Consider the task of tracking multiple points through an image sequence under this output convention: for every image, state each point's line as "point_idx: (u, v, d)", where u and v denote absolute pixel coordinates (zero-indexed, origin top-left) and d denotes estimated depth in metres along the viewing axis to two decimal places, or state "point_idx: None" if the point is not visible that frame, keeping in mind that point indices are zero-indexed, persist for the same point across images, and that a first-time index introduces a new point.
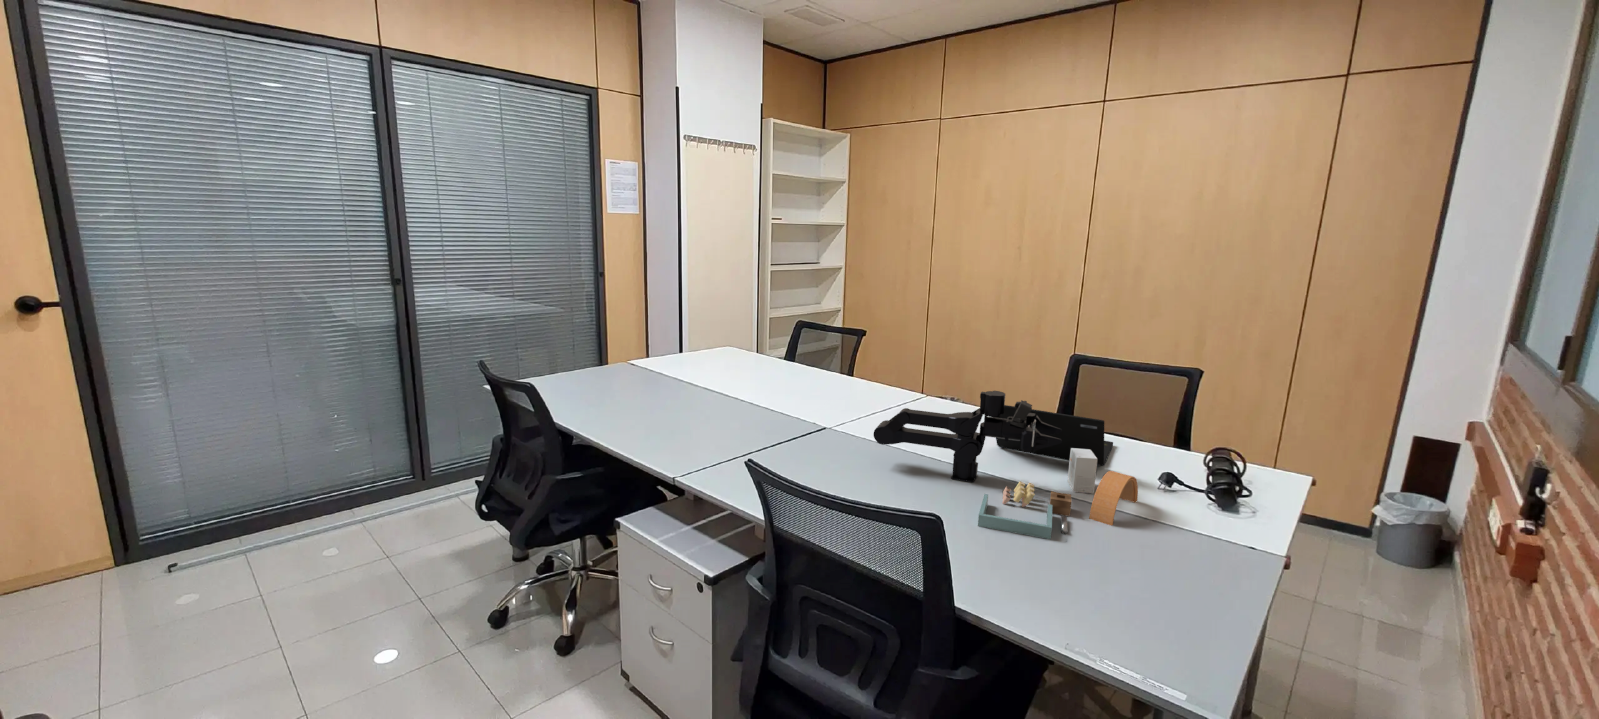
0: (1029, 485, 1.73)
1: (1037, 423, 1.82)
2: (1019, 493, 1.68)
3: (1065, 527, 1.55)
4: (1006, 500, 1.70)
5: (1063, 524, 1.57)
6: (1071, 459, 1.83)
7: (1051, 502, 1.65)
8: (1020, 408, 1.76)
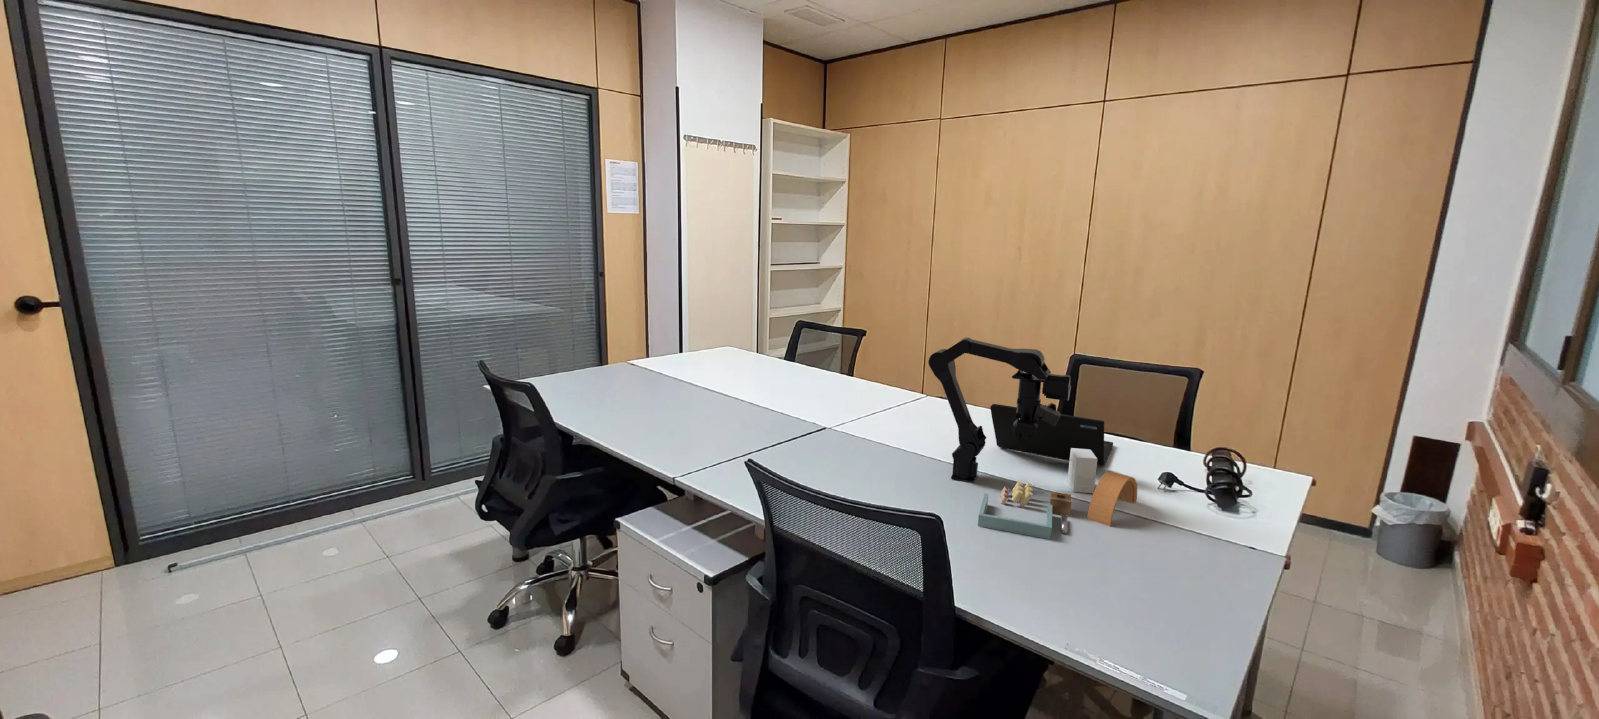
0: (1027, 485, 1.73)
1: None
2: (1017, 493, 1.69)
3: (1065, 527, 1.55)
4: (1005, 500, 1.70)
5: (1063, 524, 1.57)
6: (1071, 459, 1.83)
7: (1051, 502, 1.65)
8: (1055, 416, 1.71)
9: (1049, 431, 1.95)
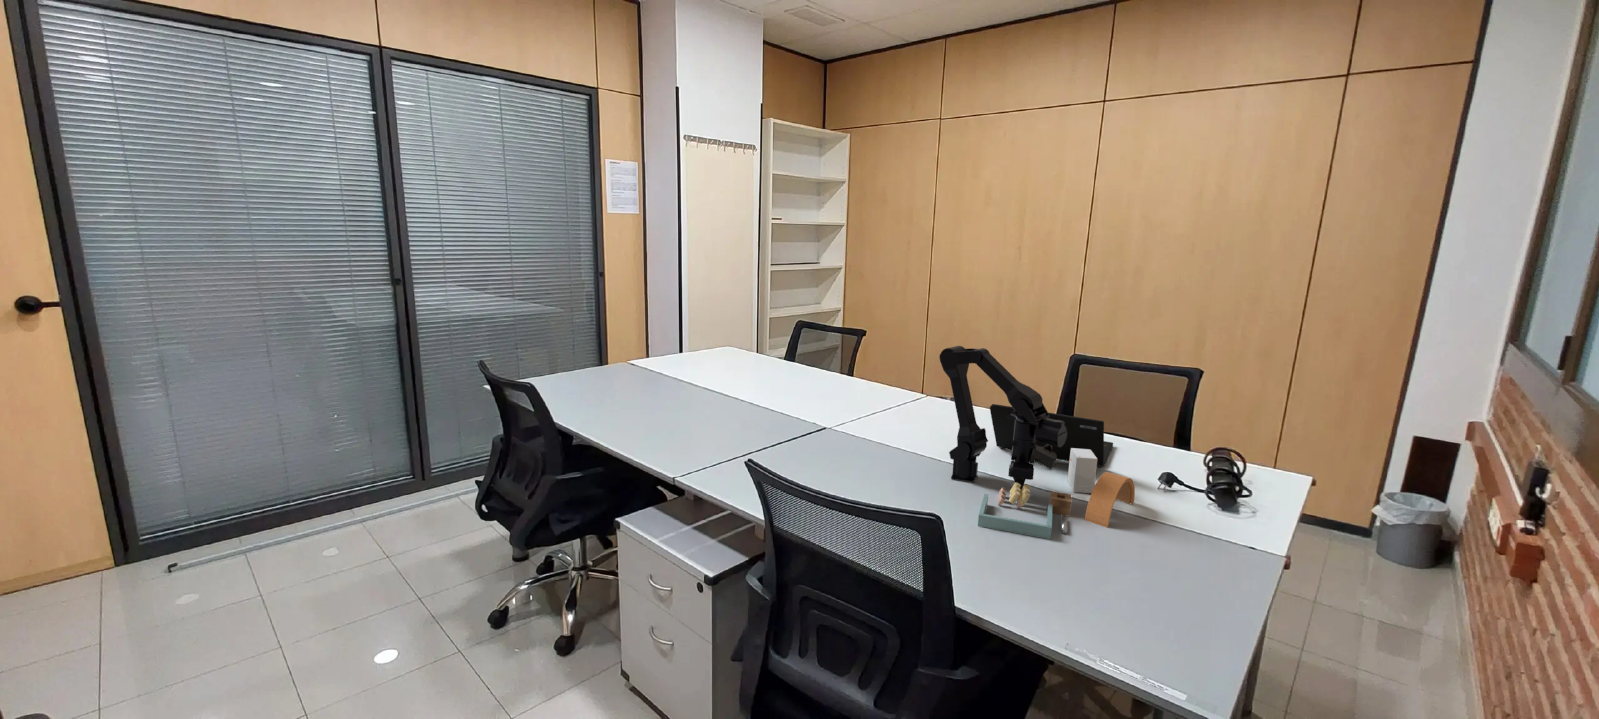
0: (1025, 486, 1.72)
1: None
2: (1014, 494, 1.67)
3: (1065, 527, 1.55)
4: (1002, 501, 1.69)
5: (1063, 524, 1.57)
6: (1071, 459, 1.83)
7: (1051, 502, 1.65)
8: (1051, 459, 1.69)
9: None
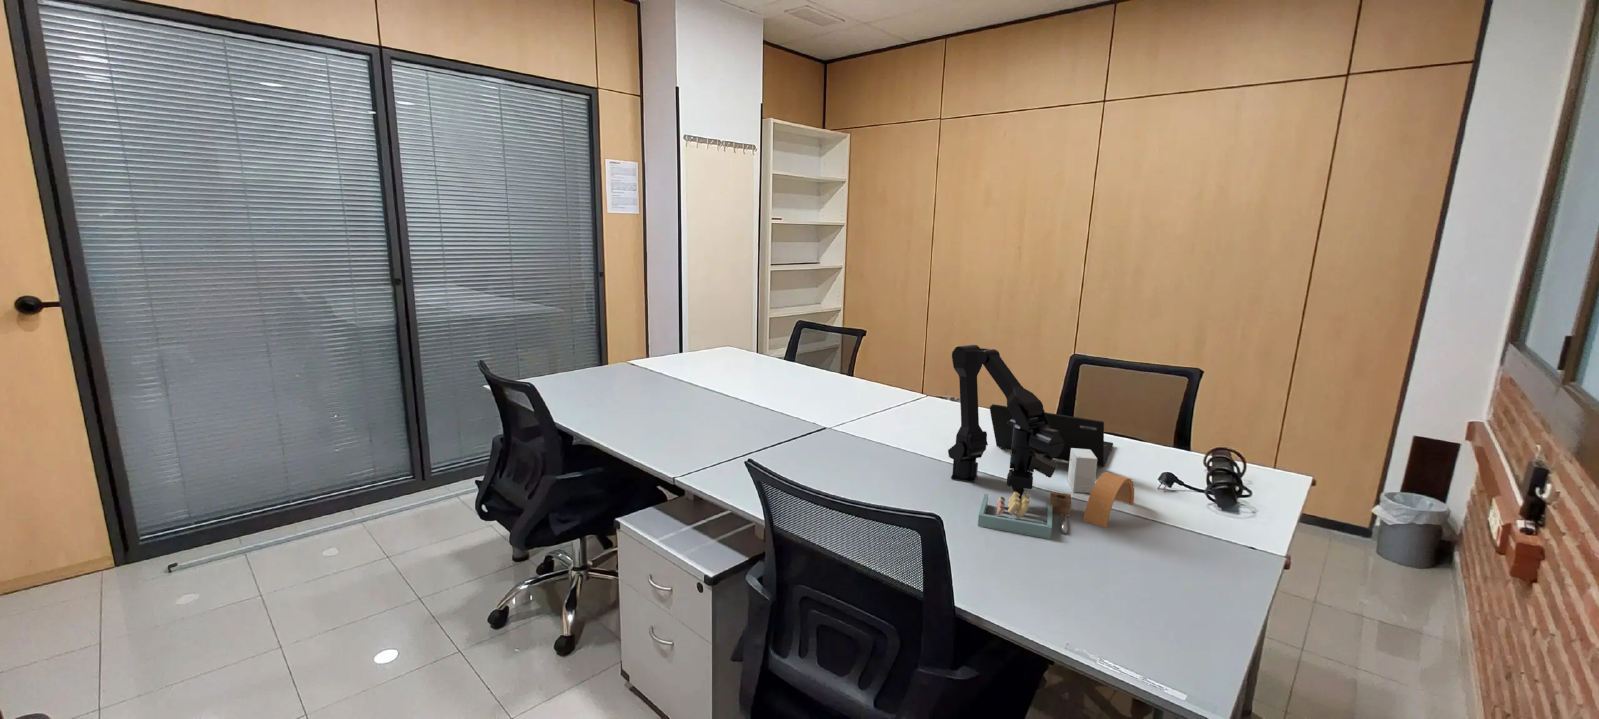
0: (1024, 496, 1.66)
1: None
2: (1014, 504, 1.61)
3: (1065, 527, 1.55)
4: (1001, 511, 1.63)
5: (1063, 524, 1.57)
6: (1071, 459, 1.83)
7: (1051, 502, 1.65)
8: (1051, 467, 1.63)
9: None
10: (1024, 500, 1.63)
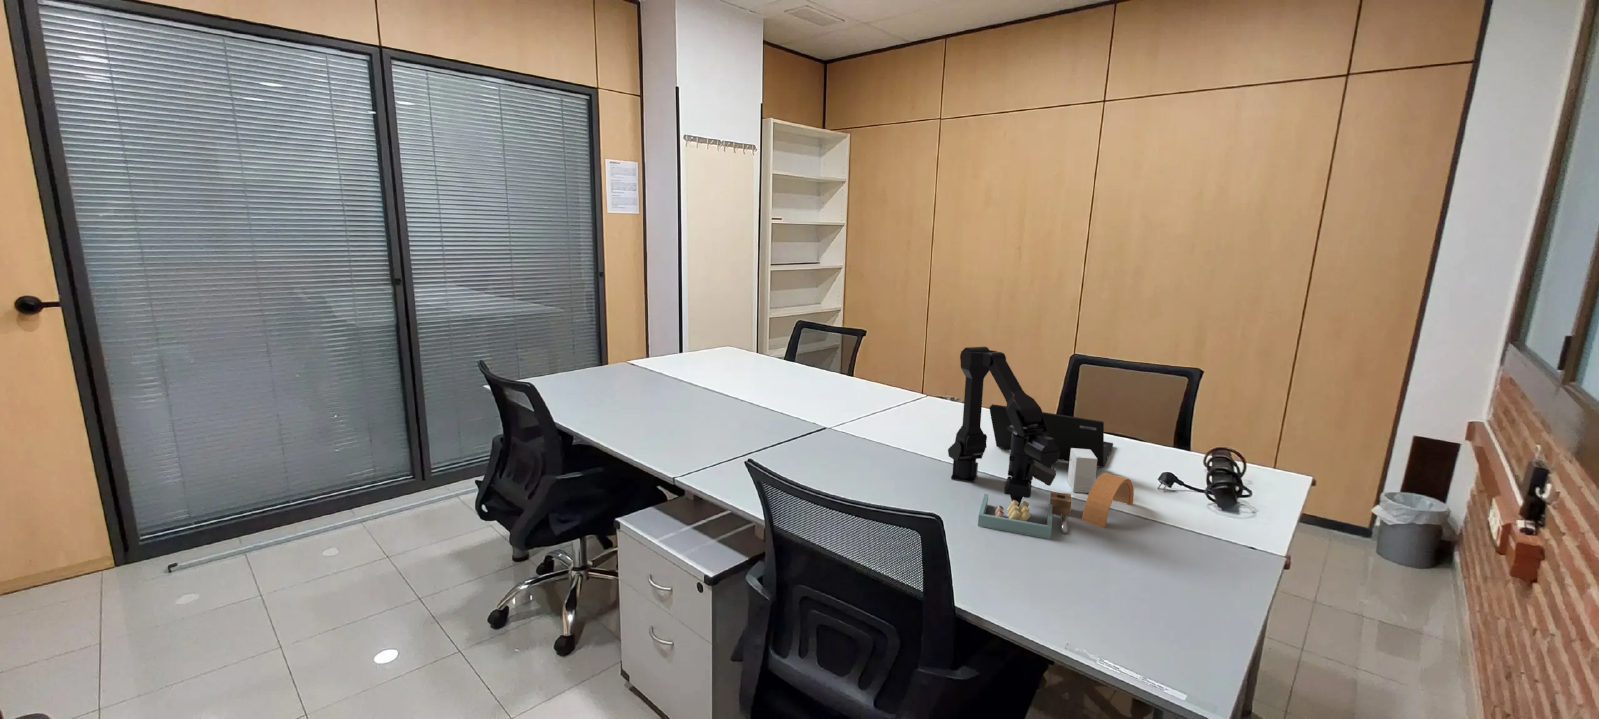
0: (1023, 504, 1.61)
1: None
2: (1014, 513, 1.56)
3: (1065, 527, 1.55)
4: None
5: (1063, 524, 1.57)
6: (1071, 459, 1.83)
7: (1051, 502, 1.65)
8: (1050, 475, 1.58)
9: None
10: (1024, 509, 1.58)
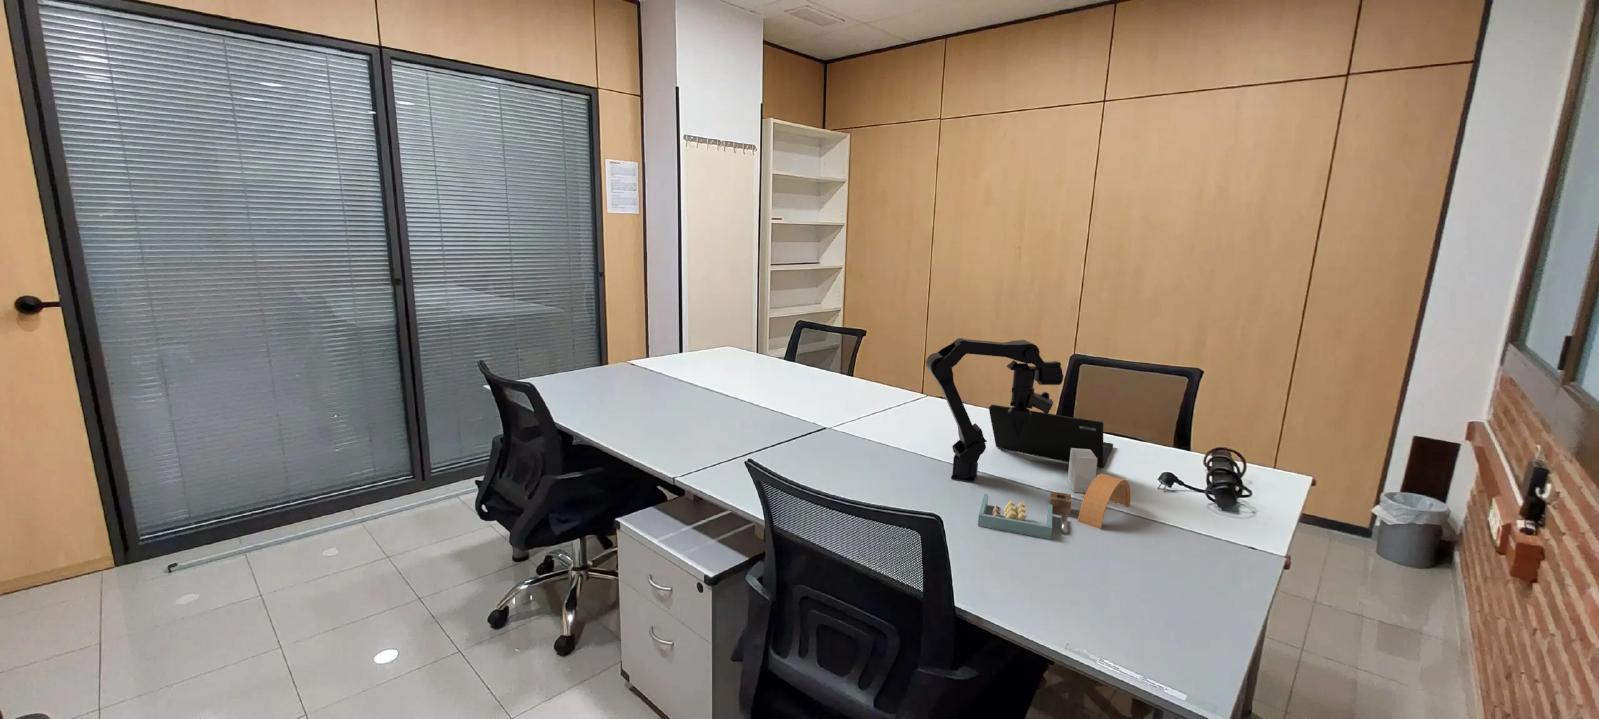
0: (1020, 504, 1.61)
1: None
2: (1010, 514, 1.56)
3: (1065, 527, 1.55)
4: None
5: (1063, 524, 1.57)
6: (1071, 459, 1.83)
7: (1051, 502, 1.65)
8: (1048, 404, 1.79)
9: (1048, 432, 1.94)
10: (1020, 509, 1.58)
